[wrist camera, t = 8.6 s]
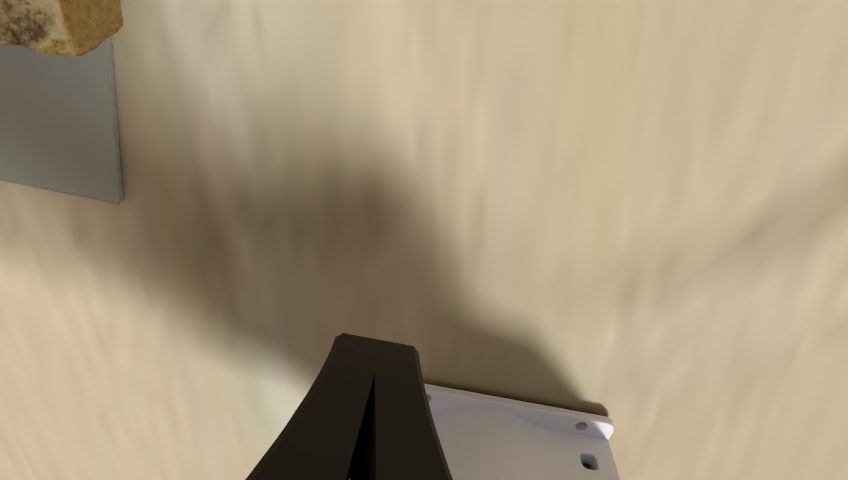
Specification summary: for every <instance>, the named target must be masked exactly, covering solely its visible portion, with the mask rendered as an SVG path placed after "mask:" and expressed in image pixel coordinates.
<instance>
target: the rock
mask: <svg viewBox="0 0 848 480" xmlns="http://www.w3.org/2000/svg"><path fill="white" fill-rule="evenodd" d="M120 4H121V0H0V44H2V45H9V46H23V47H26V48H30V49H32V50H34V51H35V52H39V53H46V54H60V55H64V56H83V55H85V54H86V53H88V52H90V51H92V50H94V49H96V48H97V47H98V46H99V45H100V44H101V43H102V42H103V41H104V40H105V39H107V38H108V37H110V36H111V35H112V34H114V33H116V32H117V31H118V30H119V29H120V28H121V27H122V26H123V18H122V12H121V6H120Z"/></svg>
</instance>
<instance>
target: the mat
mask: <svg viewBox="0 0 848 480" xmlns="http://www.w3.org/2000/svg"><path fill="white" fill-rule="evenodd" d="M0 180H2V181H7V182H12V183H17V184H22V185H27V186H32V187H37V188H42V189H47V190H52V191H57V192H62V193H67V194H72V195H77V196H82V197H87V198H92V199H97V200H102V201H107V202H112V203H117V204H120V203H121V202H122V201H123V188H122V174H121V161H120V147H119V133H118V120H117V106H116V92H115V79H114V65H113V51H112V38H111V36H110V37H108V38H107V39H105V40H104V41H103V42H102V43H101V44H100V45H99V46H98V47H97V48H96V49H94V50H92V51H90V52H88V53H86V54H85V55H83V56H64V55H60V54H46V53H39V52H35V51H34V50H32V49H30V48H26V47H23V46H9V45H2V44H0Z"/></svg>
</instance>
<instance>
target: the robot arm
mask: <svg viewBox="0 0 848 480" xmlns="http://www.w3.org/2000/svg"><path fill="white" fill-rule="evenodd" d="M426 394H428V396H427V395H426ZM580 422H582V423H580ZM613 431H614V425H613V422H612V420H611V419H610V418H609V417H606V416H601V415H595V414H590V413H584V412H579V411H573V410H568V409H562V408H557V407H551V406H546V405H540V404H535V403H529V402H524V401H518V400H513V399H507V398H502V397H496V396H491V395H485V394H480V393H474V392H469V391H463V390H458V389H452V388H447V387H441V386H435V385H430V384H424V382H423V377H422V372H421V367H420V361H419V353H418V351H417V350H416V349H415V347H414V346H409V345H404V344H398V343H393V342H388V341H382V340H377V339H372V338H366V337H361V336H355V335H350V334H345V333H343V334H341V335H339V336H337V337H336V338H335V341H334V343H333V346H332V349H331V351H330V353H329V355H328V357H327V359H326V361H325V363H324V365H323V367H322V369H321V371H320V373H319V375H318V376H317V378H316V380H315V381H314V383H313V385H312V386H311V388H310V390H309V392H308V393H307V395H306V396H305V398H304V399H303V401H302V402H301V404H300V405H299V407H298V408H297V410H296V411H295V413H294V414H293V416H292V417H291V419H290V420H289V422H288V423H287V425H286V426H285V428H284V429H283V431H282V432H281V434H280V435H279V436H278V438H277V439H276V440H275V442H274V443H273V444H272V446H271V447H270V448H269V450H268V451H267V452H266V454H265V455H264V456H263V457H262V459H261V460H260V461H259V463H258V464H257V465H256V467H255V468H254V469H253V471H252V472H251V473H250V475H249V476H248V477H247V478H246V480H349V479H350V480H620V478H619V475H618V471H617V468H616V465H615V461H614V458H613V455H612V451H611V448H610V445H609V441H608V440H609V438H610V436H611V435H612V433H613Z"/></svg>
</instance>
